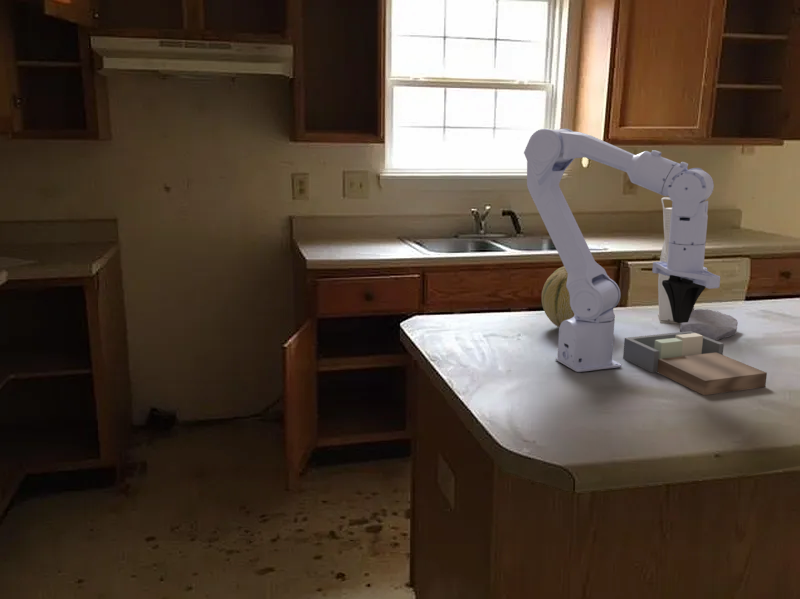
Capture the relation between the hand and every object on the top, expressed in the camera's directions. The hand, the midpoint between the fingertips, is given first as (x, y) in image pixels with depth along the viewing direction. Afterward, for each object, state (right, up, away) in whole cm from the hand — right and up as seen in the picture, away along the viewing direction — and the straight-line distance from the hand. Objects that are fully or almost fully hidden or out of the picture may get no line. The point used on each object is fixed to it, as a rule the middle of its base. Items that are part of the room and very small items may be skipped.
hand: (680, 321), depth 123 cm
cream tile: (+6, -5, +11) cm, 13 cm away
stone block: (+18, -4, +31) cm, 36 cm away
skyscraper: (+14, -1, +42) cm, 44 cm away
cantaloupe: (-10, -3, +33) cm, 35 cm away
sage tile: (+1, -6, +8) cm, 10 cm away
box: (+3, -8, +12) cm, 14 cm away
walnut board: (+6, -10, +2) cm, 12 cm away
